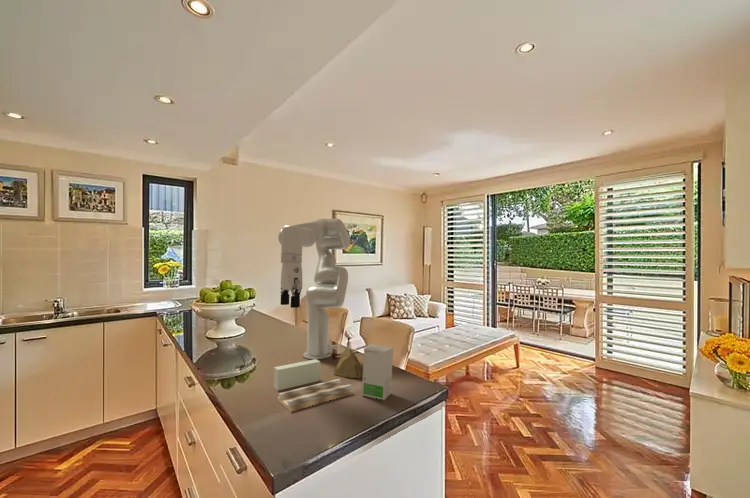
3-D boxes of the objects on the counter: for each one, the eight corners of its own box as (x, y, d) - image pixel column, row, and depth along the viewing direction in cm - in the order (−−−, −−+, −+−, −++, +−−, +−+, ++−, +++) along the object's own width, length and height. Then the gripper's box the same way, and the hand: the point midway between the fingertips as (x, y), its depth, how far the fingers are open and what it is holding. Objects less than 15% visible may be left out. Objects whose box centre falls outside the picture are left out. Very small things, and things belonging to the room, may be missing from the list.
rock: (370, 371, 127) (358, 360, 136) (360, 355, 124) (348, 345, 132) (349, 392, 123) (337, 379, 132) (337, 376, 120) (326, 365, 128)
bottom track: (337, 384, 119) (337, 377, 119) (353, 393, 111) (353, 386, 111) (277, 400, 106) (277, 392, 106) (290, 411, 98) (290, 403, 98)
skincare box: (361, 396, 110) (362, 347, 110) (369, 389, 116) (370, 343, 116) (385, 400, 106) (386, 351, 107) (392, 393, 112) (393, 346, 113)
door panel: (315, 378, 126) (315, 359, 126) (320, 380, 123) (320, 361, 123) (273, 387, 116) (274, 367, 116) (277, 391, 113) (278, 369, 113)
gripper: (311, 259, 120) (309, 308, 119) (292, 259, 134) (290, 303, 133) (290, 258, 116) (288, 309, 115) (273, 259, 130) (271, 304, 129)
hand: (289, 306), depth 124 cm, fingers open, 9 cm apart
